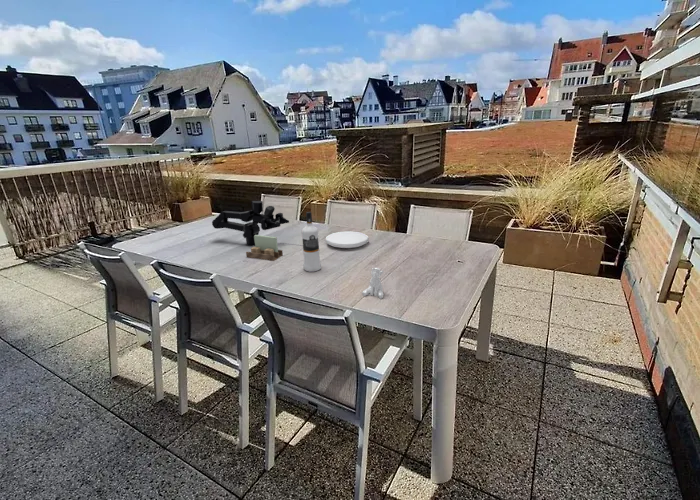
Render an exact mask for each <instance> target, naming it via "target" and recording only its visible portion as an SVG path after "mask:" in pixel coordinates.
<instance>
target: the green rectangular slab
mask: <svg viewBox="0 0 700 500" xmlns="http://www.w3.org/2000/svg"><path fill="white" fill-rule="evenodd" d="M277 237H278V236H268V235H259V234H258V235H254V240H255V246H254V247H260V250H266V249H267V248H268V249H274V252H278V250H279V247H278V238H277Z"/></svg>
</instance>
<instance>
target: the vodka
mask: <svg viewBox="0 0 700 500" xmlns="http://www.w3.org/2000/svg"><path fill="white" fill-rule="evenodd" d="M305 213H306V214H305V215H306V216H305V217H306V225H305V226H304V227H303V228H301V237H302V245H303V246H302V249H303V251H302V253H303V265H302V266H303V267H302V269H303V270H304V271H306V272H310V273H315V272H317V271H319V270H321V268H322V263H321V256H320V250H321V249H320V241H319V236H320V235H319V228H318V227H316V226H315V225H314V224H313V220H312V212H311V211H307V212H305Z"/></svg>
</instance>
